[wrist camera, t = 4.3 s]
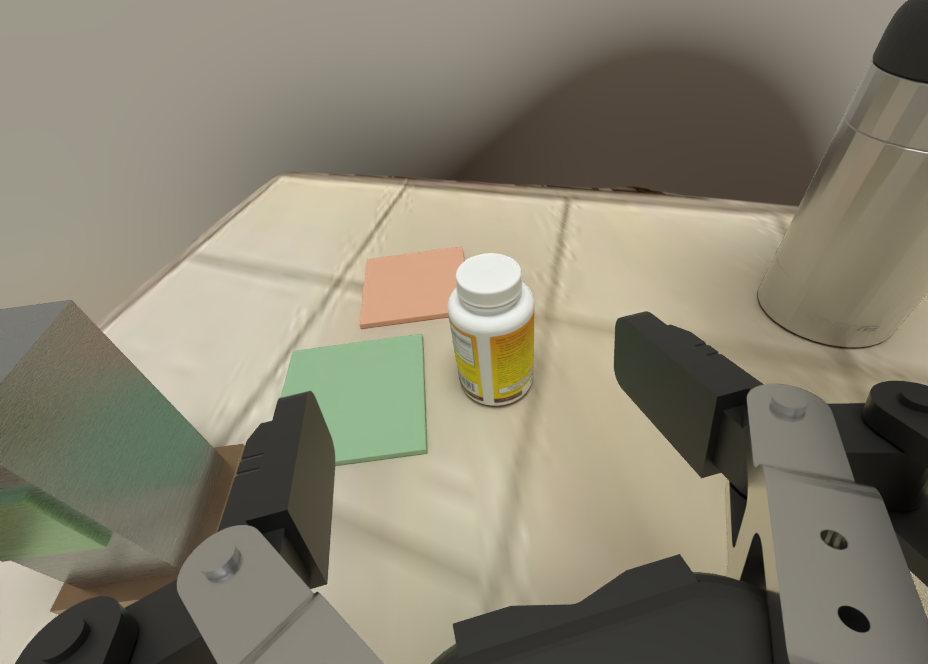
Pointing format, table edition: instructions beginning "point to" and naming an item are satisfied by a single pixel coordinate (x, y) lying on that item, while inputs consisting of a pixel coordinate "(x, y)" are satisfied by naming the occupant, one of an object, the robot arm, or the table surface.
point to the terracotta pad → (409, 287)
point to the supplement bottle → (492, 329)
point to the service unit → (97, 462)
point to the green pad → (366, 395)
